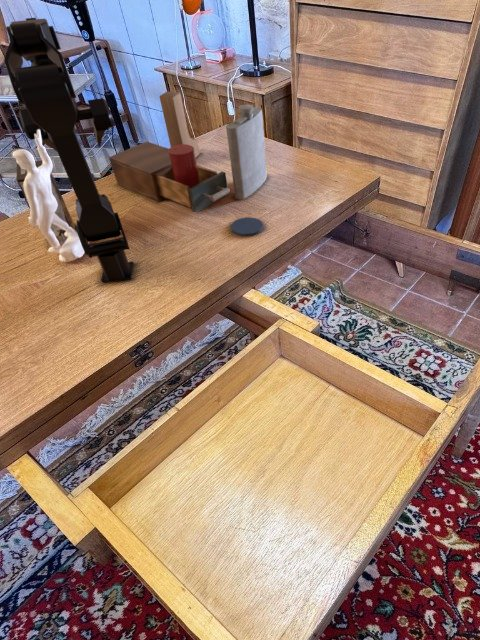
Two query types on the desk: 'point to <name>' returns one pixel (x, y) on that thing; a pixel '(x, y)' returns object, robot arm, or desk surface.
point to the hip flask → (247, 151)
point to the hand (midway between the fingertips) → (79, 148)
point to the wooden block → (176, 121)
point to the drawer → (193, 188)
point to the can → (184, 164)
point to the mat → (246, 226)
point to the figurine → (46, 202)
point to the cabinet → (141, 168)
